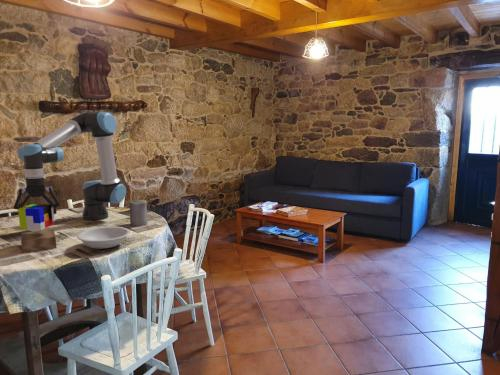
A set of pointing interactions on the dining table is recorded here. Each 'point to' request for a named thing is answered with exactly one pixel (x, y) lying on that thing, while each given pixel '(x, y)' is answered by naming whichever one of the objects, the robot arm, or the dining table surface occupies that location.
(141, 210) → the pillar candle
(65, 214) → the dining table surface
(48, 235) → the walnut base block
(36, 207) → the puzzle toy
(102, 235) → the soup bowl
